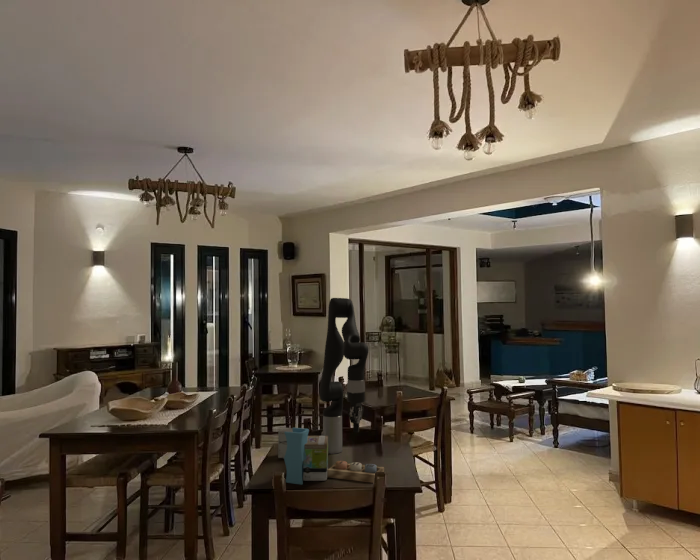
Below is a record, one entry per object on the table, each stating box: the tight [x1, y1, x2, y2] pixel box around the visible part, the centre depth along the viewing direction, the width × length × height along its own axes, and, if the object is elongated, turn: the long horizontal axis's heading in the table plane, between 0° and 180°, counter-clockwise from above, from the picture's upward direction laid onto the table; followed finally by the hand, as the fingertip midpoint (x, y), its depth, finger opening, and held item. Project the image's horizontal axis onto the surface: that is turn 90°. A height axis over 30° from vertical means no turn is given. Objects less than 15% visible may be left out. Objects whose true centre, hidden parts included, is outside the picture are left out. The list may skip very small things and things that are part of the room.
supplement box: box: [277, 427, 293, 459], centre depth 249 cm, size 7×7×13 cm
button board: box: [327, 462, 385, 484], centre depth 221 cm, size 21×11×3 cm, turn 69°
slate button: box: [364, 463, 377, 473], centre depth 218 cm, size 5×5×4 cm
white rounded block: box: [350, 461, 363, 472], centre depth 221 cm, size 5×5×4 cm
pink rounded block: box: [335, 460, 348, 470], centre depth 223 cm, size 5×5×4 cm
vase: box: [283, 427, 310, 485], centre depth 216 cm, size 8×8×20 cm
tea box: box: [302, 435, 329, 482], centre depth 222 cm, size 15×10×15 cm, turn 1°
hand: (356, 432), depth 222 cm, fingers closed
